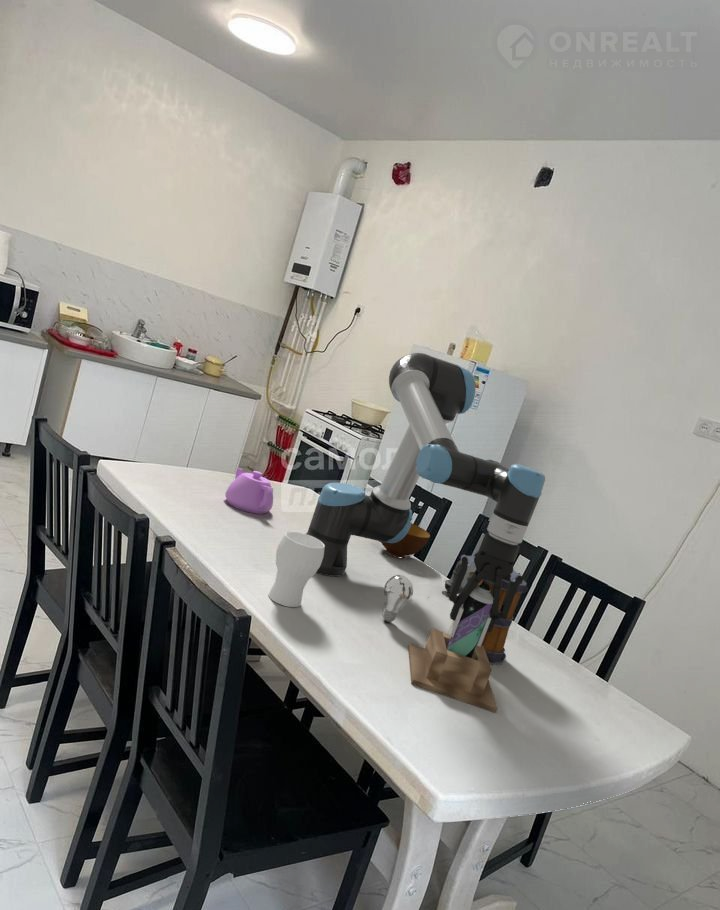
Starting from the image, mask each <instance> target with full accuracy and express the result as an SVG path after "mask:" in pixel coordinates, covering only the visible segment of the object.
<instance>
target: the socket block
mask: <svg viewBox="0 0 720 910" xmlns="http://www.w3.org/2000/svg"><path fill="white" fill-rule="evenodd" d="M450 639H451V637H450V635H449V633H447V632H443V631H442V630H441V631H440V630H439V629H435V628H431V630H430V633H429V636H428V639H427V641H426V643H425V647H423V646H420V645H417V644H413V643H411V642H410V643H409V644H408V648H407V651H408V660H409V671H410V683H411V685H412V686H416V687H419V688H423V689H424V690H429V691H432V692H433V693H437V694H440V695H442V696H446V697H448V698H452V699H455V700H457V701H461V702H463V703H467V704H470V705H472V706H476V707H478V708H481V709H484V710H487V711H490V712H493V713H494V714H495V713H497V712H498V709H499V707H498V705H497V702H496V699H495V698H496V697H495V696H494V693H493V689H492V687H491V683H490V679H489V678H490V676H491V674H492V671H493V669H492V665H490V663H489V660H488V658H487V655H486V652H485V649H484V646H482V645H481V647H480V646H477V645H476V648H475V651H474V653H473V656H472V658H469V657H466V656H463V655H460V654H457V653H454V652H451V651H448V650H447V647H448V644H449V642H450Z"/></svg>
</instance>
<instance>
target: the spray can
mask: <svg viewBox="0 0 720 910" xmlns="http://www.w3.org/2000/svg"><path fill="white" fill-rule="evenodd" d="M489 587H490V584H489V583H488V582H486V581H483V582H482V584H480V585H478V587H475V588H474V590H473V591H472V592H471V594H470V595H469V596H468V598H467V599H466V600H465V602H464V605H463V608H464V610H463V613H462V616H461V618H460V621H459V623H458V626H457V629H456V631H455V634H454V636H453V637H451V639H450V642H449V644H448V647H447V650H448V651H451V652H454V653H457V654H460V655H463V656H466V657H469V658H472V656H473V653H474V651H475V648H476V645H477V643H478V640H479V638H480V635H481V632H482V630H483V627H484V625H485V622H486V620H487V617H488V615H489V612H490V609H491V607H492V604H493V600H494V598H493V595H492V594H491V592H490V591H491V590H490V588H489Z"/></svg>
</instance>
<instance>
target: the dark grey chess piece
mask: <svg viewBox="0 0 720 910" xmlns="http://www.w3.org/2000/svg"><path fill="white" fill-rule="evenodd" d="M460 562H461V560H458V561H457V563H456V566H455V567H454V569H453V570H452V575H451V578H450V579H446V580H445V581H444V588H445V590H442V591H441V594H442V596H445V597H447V598H448V599H449V597H448V593H449V591H450V588H451V586H452V583H453V581H454V579H455V576H456V574H457V571H458V569H459V567H460ZM464 587H465V586H463V585H462V584H461V586H460V588H459V590H458V593H457V595H456V596H458V595H459V593H460V592H461V591H462V589H463V588H464Z"/></svg>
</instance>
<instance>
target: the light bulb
mask: <svg viewBox="0 0 720 910" xmlns="http://www.w3.org/2000/svg"><path fill="white" fill-rule="evenodd" d="M383 593H384V599H385V603H384V609H383V612H382V615H381V616H382V618H383V619H384V621H385V622H386V623H388V624H389V623H392V622H393V621H395V620H396V618H397V616H398V613H399V612H400V611H401V609H402V608H403V606H404V605H406V604H407V603H408V602H409V601H410V600H411V599H412V597H413V595H414V585H413V583H412V581H411V580H410V579H409V578H408V577H406V576H405V575H401V574H396V575H393V576H391V577H389V578H388V579H387V581H386V582H385V585H384V587H383Z"/></svg>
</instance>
